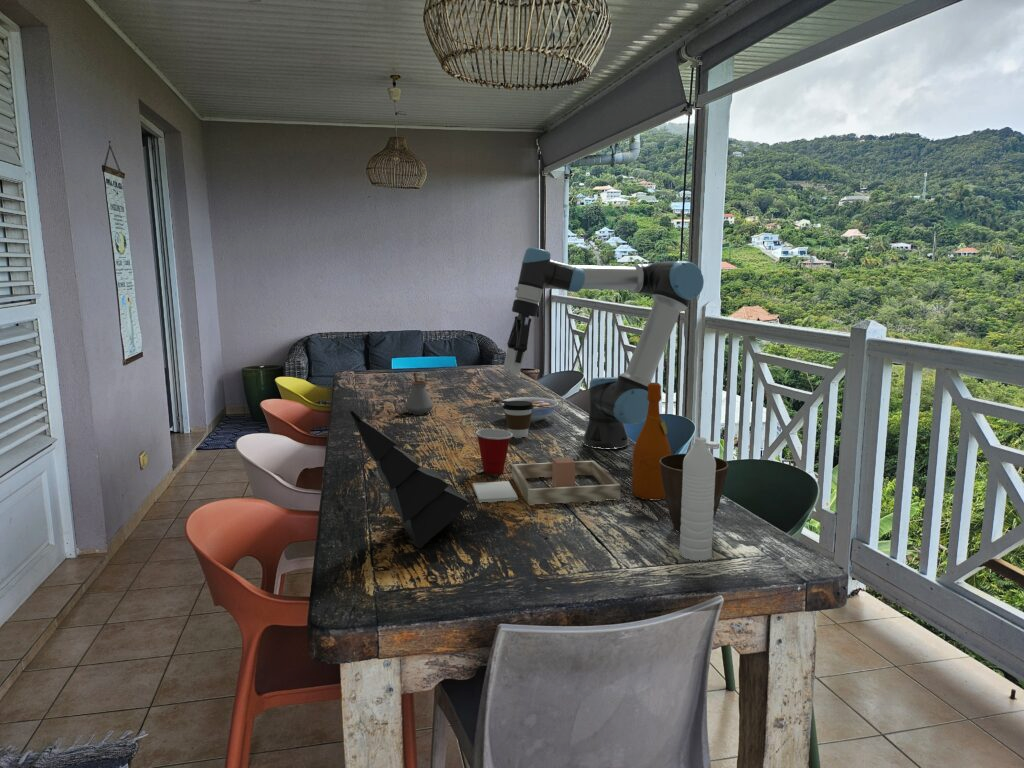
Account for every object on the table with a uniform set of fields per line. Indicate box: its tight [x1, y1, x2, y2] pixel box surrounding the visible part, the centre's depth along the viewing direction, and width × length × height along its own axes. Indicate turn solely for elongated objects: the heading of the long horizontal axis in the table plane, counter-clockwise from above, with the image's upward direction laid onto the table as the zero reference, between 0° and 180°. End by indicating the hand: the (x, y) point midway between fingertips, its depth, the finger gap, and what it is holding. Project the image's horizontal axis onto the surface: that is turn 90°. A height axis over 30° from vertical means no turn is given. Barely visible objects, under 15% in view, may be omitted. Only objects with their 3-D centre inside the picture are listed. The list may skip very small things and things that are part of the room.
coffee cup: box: [502, 401, 534, 439], centre depth 250 cm, size 11×11×12 cm
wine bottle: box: [631, 382, 672, 500], centre depth 183 cm, size 10×10×30 cm
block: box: [551, 457, 576, 488], centre depth 191 cm, size 5×5×8 cm
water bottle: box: [678, 436, 720, 562], centre depth 143 cm, size 9×6×25 cm
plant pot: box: [660, 453, 729, 533], centre depth 160 cm, size 15×15×16 cm
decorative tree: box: [349, 410, 471, 549], centre depth 153 cm, size 15×15×35 cm
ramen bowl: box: [490, 396, 559, 423], centre depth 277 cm, size 25×23×8 cm
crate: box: [511, 460, 622, 506], centre depth 191 cm, size 24×24×4 cm
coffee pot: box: [405, 371, 434, 415], centre depth 296 cm, size 21×12×15 cm, turn 14°
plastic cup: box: [475, 428, 513, 475], centre depth 206 cm, size 11×11×12 cm
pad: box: [472, 480, 519, 504], centre depth 187 cm, size 10×14×1 cm
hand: (510, 371), depth 209 cm, fingers open, 13 cm apart
